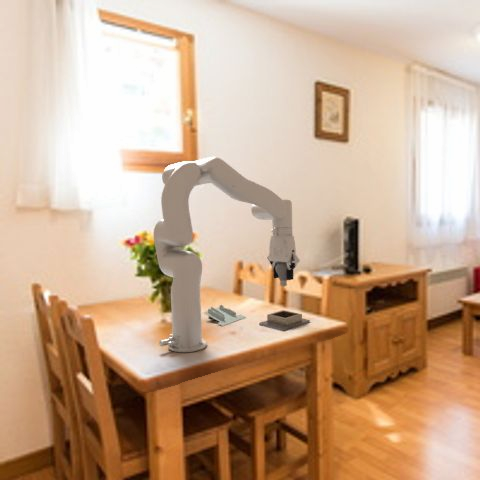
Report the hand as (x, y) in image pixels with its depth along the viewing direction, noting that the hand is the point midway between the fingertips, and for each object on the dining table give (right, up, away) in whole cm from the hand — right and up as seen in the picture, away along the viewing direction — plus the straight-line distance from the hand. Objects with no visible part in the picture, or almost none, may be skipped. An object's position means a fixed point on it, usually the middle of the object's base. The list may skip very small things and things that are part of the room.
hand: (283, 278), depth 158 cm
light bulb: (0, -3, 0) cm, 3 cm away
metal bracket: (-24, -18, +9) cm, 31 cm away
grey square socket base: (+1, -18, +1) cm, 18 cm away
